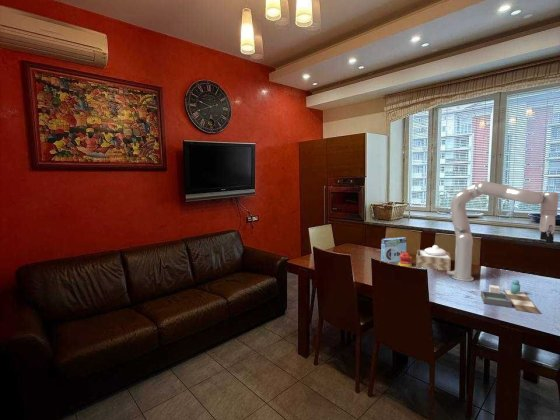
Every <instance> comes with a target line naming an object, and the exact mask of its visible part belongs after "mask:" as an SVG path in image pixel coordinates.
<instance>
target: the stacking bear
mask: <svg viewBox="0 0 560 420" xmlns="http://www.w3.org/2000/svg"><path fill="white" fill-rule="evenodd" d="M412 258H413V257H412V256H411V255H410V253H408V252H406V253H405V252H404V253H401V254H400V259H401V260H400V261H399V263H398V265H400V266H406V267H412ZM412 268H413V267H412Z"/></svg>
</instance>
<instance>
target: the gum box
mask: <svg viewBox="0 0 560 420" xmlns="http://www.w3.org/2000/svg"><path fill="white" fill-rule="evenodd" d="M380 243H381V244H380V245H381V246H380V248H381V249H380V250H381V251H380V262H381V261H384V262H388V263H393V264H397V265H398V263H399V261H400V260H401V259H400V254H401V253H404V252H405V253H407V237H405V236H399V237H389V238H381V241H380Z"/></svg>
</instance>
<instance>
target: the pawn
mask: <svg viewBox="0 0 560 420" xmlns="http://www.w3.org/2000/svg"><path fill="white" fill-rule="evenodd" d="M511 282H512V283H511V284H510V290H511V293H513V294H520V292H521V284H520V281H519V279H513V280H512V281H511Z"/></svg>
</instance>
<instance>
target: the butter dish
mask: <svg viewBox="0 0 560 420" xmlns="http://www.w3.org/2000/svg"><path fill="white" fill-rule="evenodd" d="M423 250H424V251H420V256H427V257H438V258H449V256H448V255H447V254H446V252H447V251H446V250H445V249H443V248H441V247H439V245H436V244H433V245H432V247H427V248H425V249H423Z"/></svg>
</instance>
